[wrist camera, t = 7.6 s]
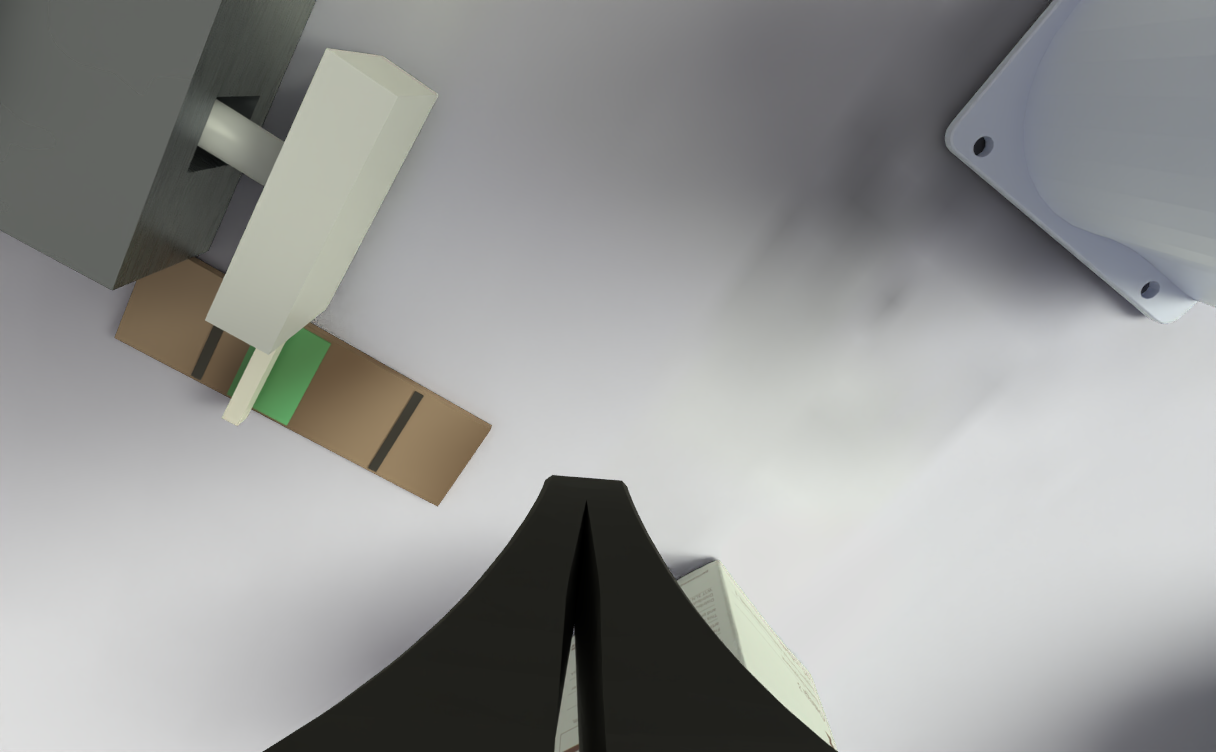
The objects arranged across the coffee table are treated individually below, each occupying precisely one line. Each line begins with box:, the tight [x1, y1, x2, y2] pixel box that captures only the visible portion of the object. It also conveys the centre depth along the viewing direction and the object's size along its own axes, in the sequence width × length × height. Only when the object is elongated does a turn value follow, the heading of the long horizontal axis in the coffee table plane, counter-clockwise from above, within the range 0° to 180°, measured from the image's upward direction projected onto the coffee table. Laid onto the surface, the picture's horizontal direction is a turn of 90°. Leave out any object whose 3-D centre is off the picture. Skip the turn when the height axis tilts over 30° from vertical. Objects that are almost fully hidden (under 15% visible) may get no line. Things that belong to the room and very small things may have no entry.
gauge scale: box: [114, 257, 492, 506], centre depth 20 cm, size 11×4×1 cm, turn 56°
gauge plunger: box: [198, 48, 439, 426], centre depth 16 cm, size 11×12×4 cm
